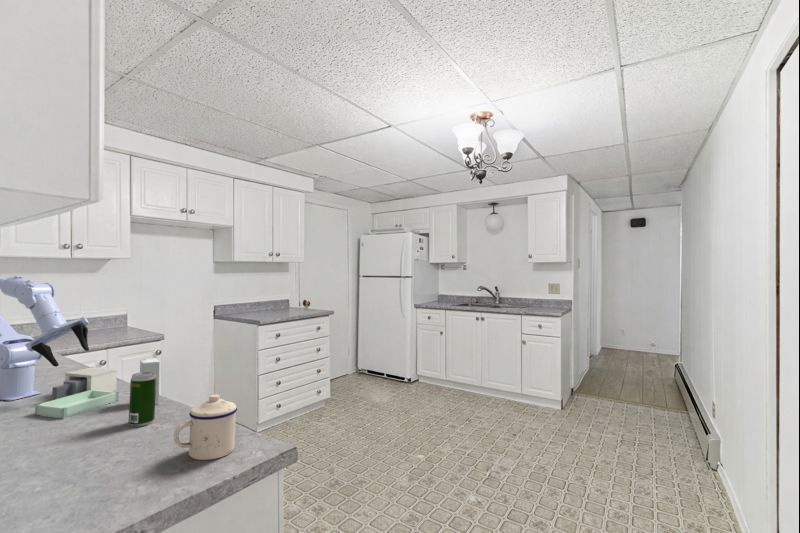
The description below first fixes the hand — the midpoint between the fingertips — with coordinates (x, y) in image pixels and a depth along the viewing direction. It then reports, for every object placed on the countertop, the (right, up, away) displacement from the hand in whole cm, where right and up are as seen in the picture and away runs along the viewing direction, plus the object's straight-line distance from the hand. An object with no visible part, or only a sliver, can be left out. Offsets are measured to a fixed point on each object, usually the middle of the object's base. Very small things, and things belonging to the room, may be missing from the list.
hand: (71, 357), depth 111 cm
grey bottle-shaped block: (-3, -13, +4) cm, 14 cm away
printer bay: (-2, -13, +9) cm, 16 cm away
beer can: (+29, -13, -14) cm, 35 cm away
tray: (+6, -13, -4) cm, 14 cm away
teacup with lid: (+52, -13, -29) cm, 61 cm away
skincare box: (+21, -13, +1) cm, 25 cm away
